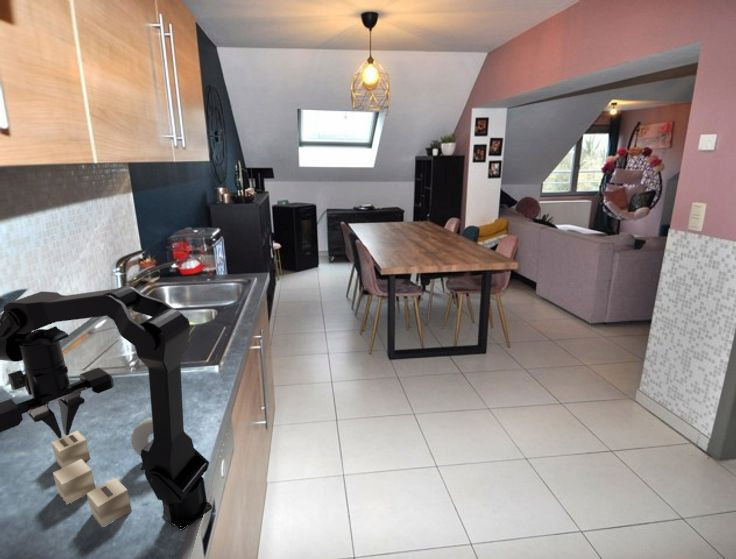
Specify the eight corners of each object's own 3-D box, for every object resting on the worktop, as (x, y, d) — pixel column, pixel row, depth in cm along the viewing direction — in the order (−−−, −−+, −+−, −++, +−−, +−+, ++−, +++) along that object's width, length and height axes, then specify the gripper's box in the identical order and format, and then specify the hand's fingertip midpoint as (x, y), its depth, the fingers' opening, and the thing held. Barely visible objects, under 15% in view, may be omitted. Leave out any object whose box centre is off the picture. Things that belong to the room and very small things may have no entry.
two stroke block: (81, 449, 98) (77, 430, 96) (90, 458, 95) (86, 439, 93) (56, 461, 94) (51, 441, 92) (64, 471, 91) (59, 451, 90)
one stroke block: (120, 498, 84) (115, 477, 82) (131, 511, 81) (127, 489, 80) (91, 515, 80) (86, 492, 79) (103, 528, 77) (97, 506, 76)
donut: (185, 448, 98) (179, 410, 95) (183, 458, 95) (177, 419, 92) (137, 455, 95) (129, 417, 93) (133, 466, 92) (125, 426, 89)
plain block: (86, 478, 89) (81, 458, 88) (96, 490, 86) (91, 469, 85) (58, 493, 85) (52, 472, 84) (67, 505, 82) (62, 484, 81)
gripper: (84, 333, 89) (98, 399, 94) (-35, 369, 75) (-11, 444, 80) (107, 348, 82) (121, 418, 87) (-18, 390, 68) (6, 471, 73)
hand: (63, 436), depth 82 cm, fingers closed
